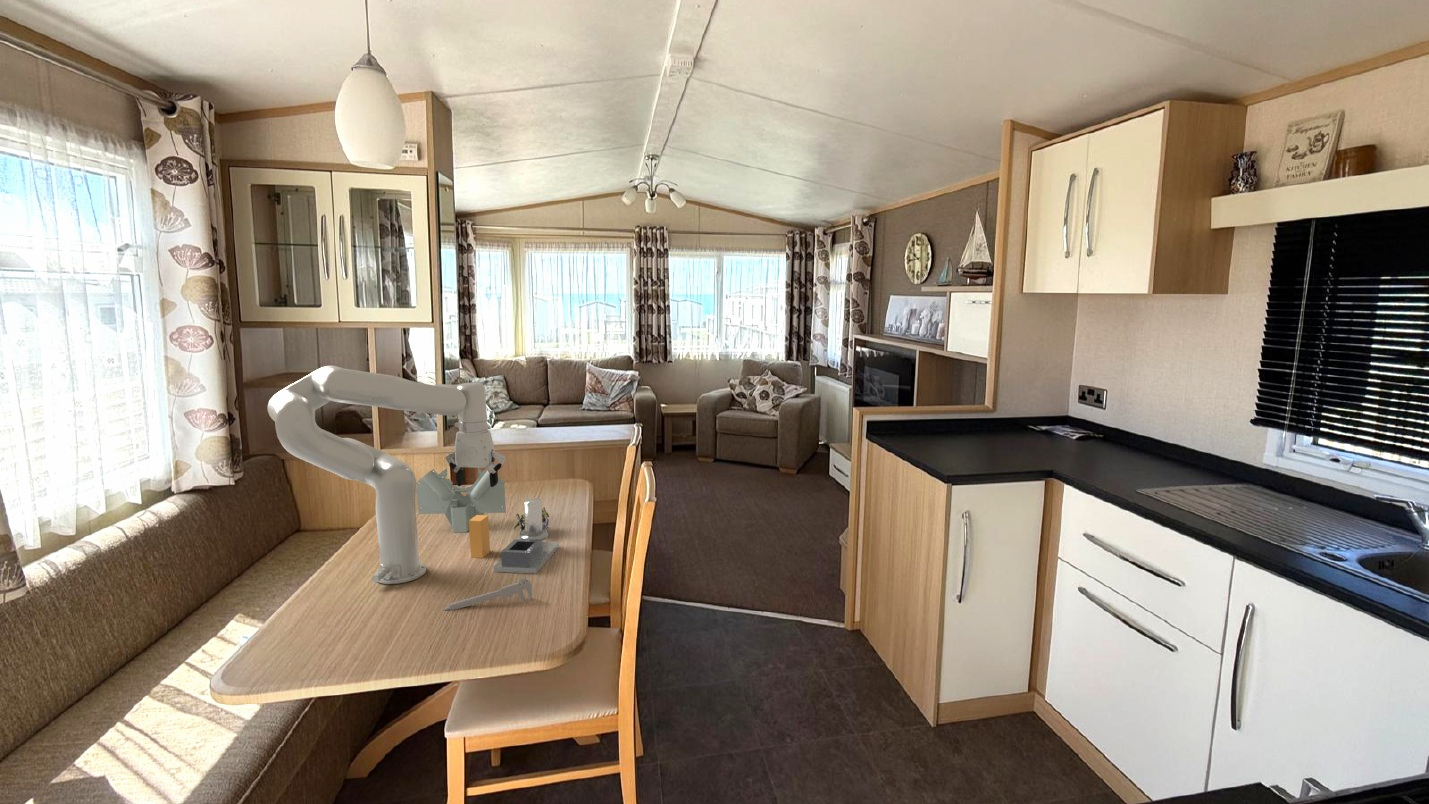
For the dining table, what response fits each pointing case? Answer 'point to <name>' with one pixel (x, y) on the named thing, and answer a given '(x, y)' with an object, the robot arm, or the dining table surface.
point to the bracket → (459, 498)
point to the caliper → (496, 594)
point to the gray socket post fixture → (528, 544)
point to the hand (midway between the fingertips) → (477, 485)
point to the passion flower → (544, 520)
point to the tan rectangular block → (479, 536)
